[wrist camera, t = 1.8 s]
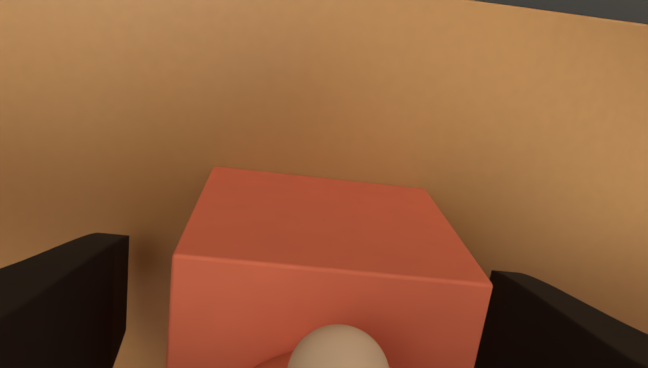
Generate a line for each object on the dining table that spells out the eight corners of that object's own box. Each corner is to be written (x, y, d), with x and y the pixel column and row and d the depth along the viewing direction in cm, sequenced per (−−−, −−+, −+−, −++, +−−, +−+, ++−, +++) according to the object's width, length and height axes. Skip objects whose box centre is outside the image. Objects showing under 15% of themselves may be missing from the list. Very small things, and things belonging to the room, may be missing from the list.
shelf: (575, 396, 20) (701, 571, 14) (27, 354, 19) (-105, 531, 12) (680, 35, 17) (909, 57, 11) (19, -55, 15) (-169, -92, 9)
